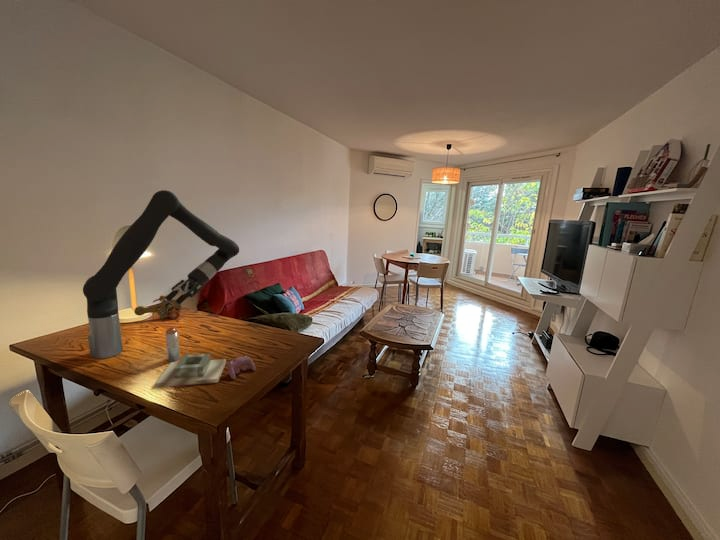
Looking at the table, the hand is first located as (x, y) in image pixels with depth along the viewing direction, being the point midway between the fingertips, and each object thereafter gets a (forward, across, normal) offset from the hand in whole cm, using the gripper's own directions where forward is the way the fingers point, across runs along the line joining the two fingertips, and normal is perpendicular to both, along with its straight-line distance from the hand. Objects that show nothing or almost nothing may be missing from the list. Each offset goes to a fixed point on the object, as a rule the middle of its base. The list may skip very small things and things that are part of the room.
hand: (172, 301), depth 115 cm
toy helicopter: (0, -47, +25) cm, 53 cm away
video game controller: (+8, +30, +27) cm, 41 cm away
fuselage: (+16, +1, +19) cm, 24 cm away
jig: (+17, +17, +19) cm, 31 cm away
